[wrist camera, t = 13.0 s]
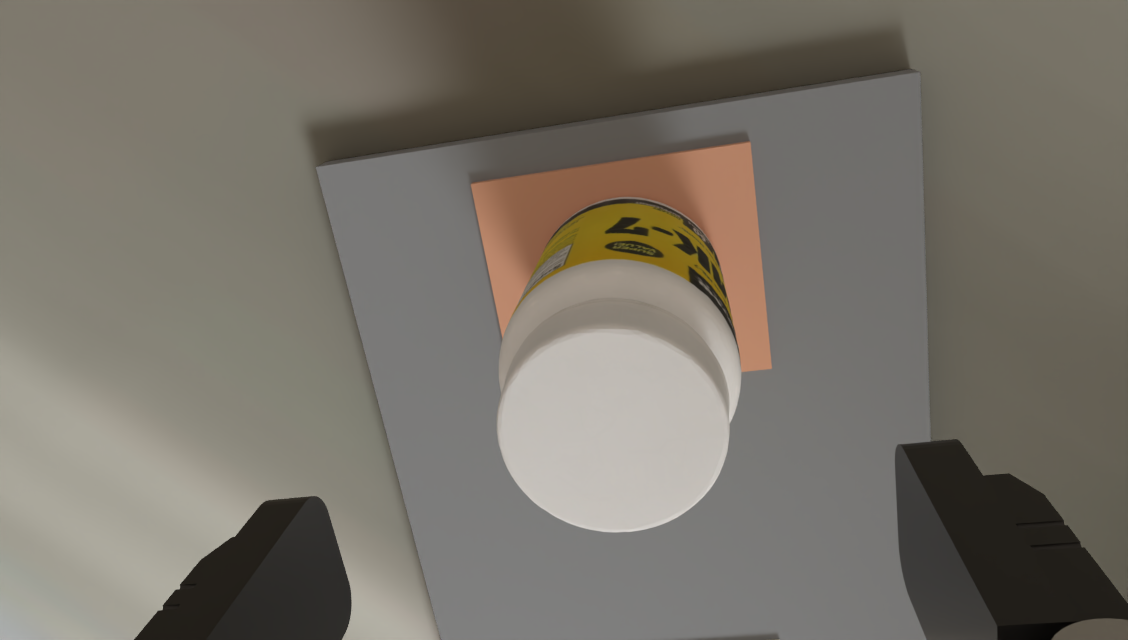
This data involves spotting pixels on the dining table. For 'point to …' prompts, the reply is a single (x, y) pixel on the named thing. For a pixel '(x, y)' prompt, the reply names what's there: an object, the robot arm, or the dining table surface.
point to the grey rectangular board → (763, 332)
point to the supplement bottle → (620, 369)
